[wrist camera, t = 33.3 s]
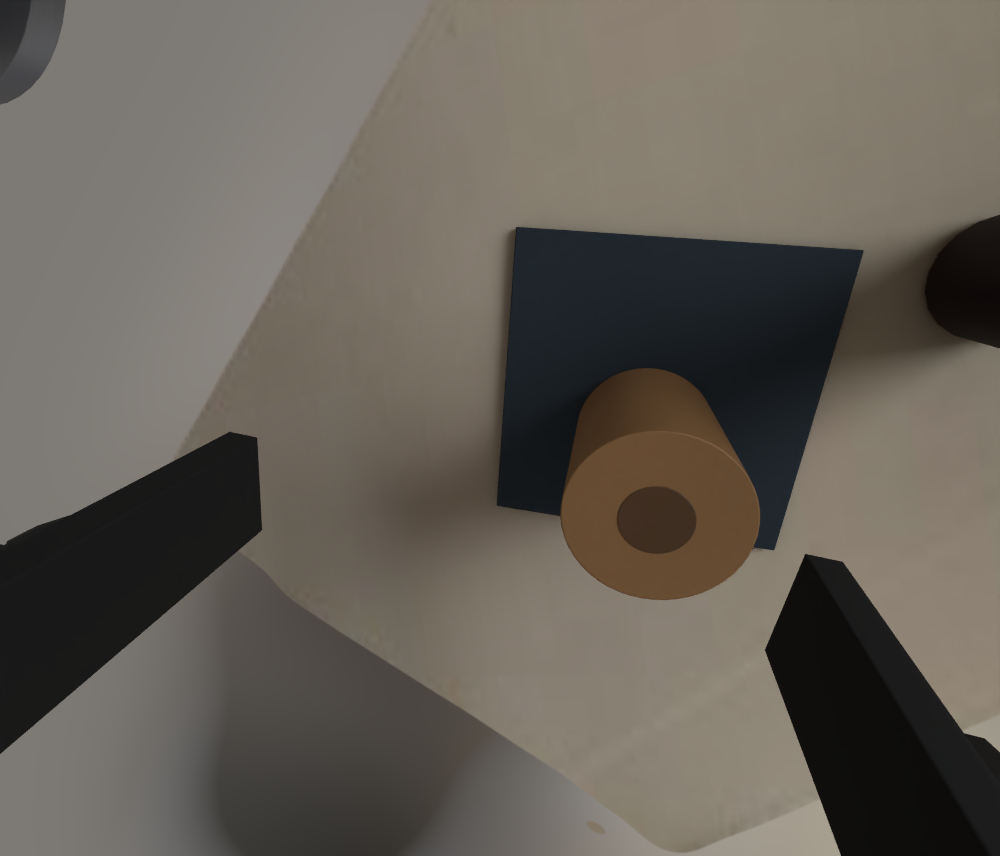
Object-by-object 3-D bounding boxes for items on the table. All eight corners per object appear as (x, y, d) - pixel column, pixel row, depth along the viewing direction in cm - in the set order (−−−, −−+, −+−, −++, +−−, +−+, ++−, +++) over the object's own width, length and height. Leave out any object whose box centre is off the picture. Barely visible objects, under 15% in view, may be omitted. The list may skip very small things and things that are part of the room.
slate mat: (497, 502, 40) (496, 505, 40) (517, 227, 33) (516, 226, 33) (772, 546, 37) (774, 550, 36) (860, 250, 30) (864, 250, 29)
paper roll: (736, 616, 25) (783, 445, 22) (551, 583, 27) (570, 419, 23) (699, 500, 36) (726, 375, 33) (570, 481, 38) (585, 360, 35)
